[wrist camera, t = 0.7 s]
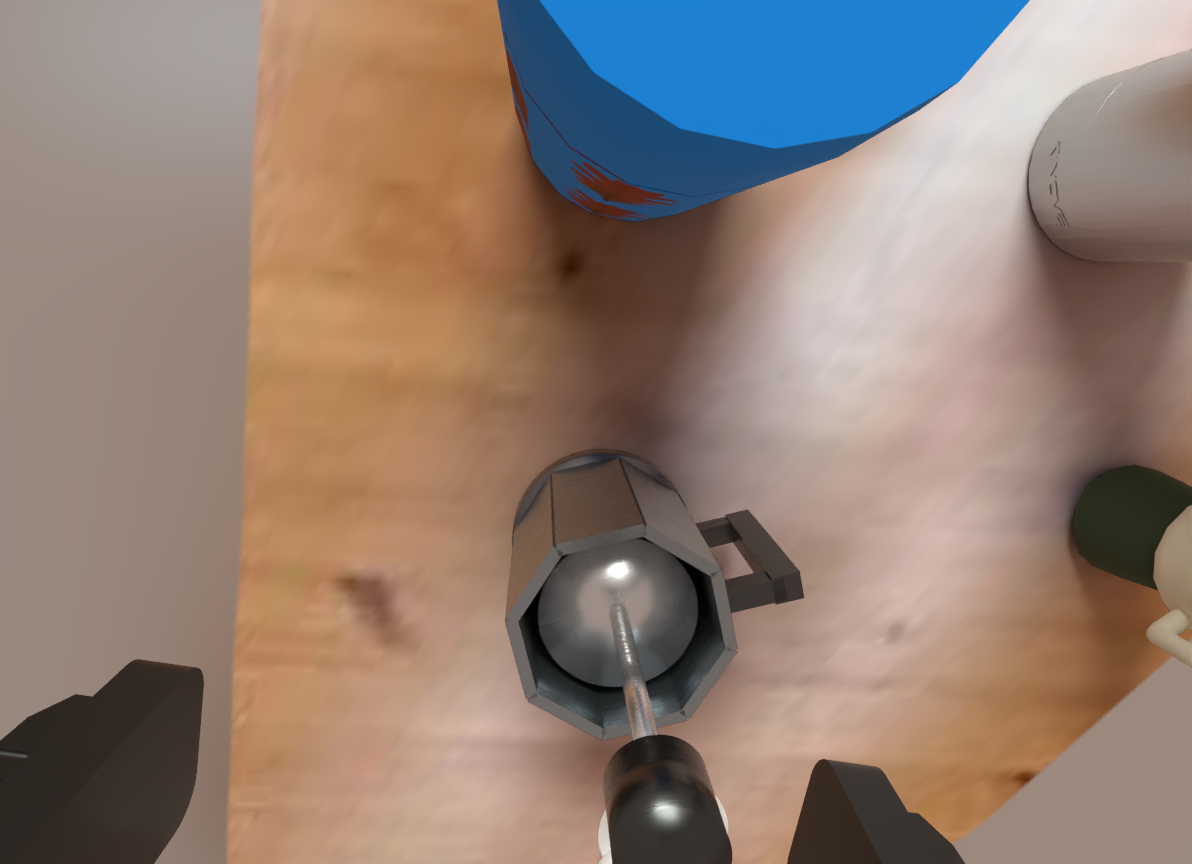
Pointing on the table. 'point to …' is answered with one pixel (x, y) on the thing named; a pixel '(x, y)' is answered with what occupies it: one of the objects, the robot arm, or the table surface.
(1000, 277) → the table surface
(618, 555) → the plunger
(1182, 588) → the character mug
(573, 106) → the thermos
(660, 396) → the table surface
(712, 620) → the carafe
